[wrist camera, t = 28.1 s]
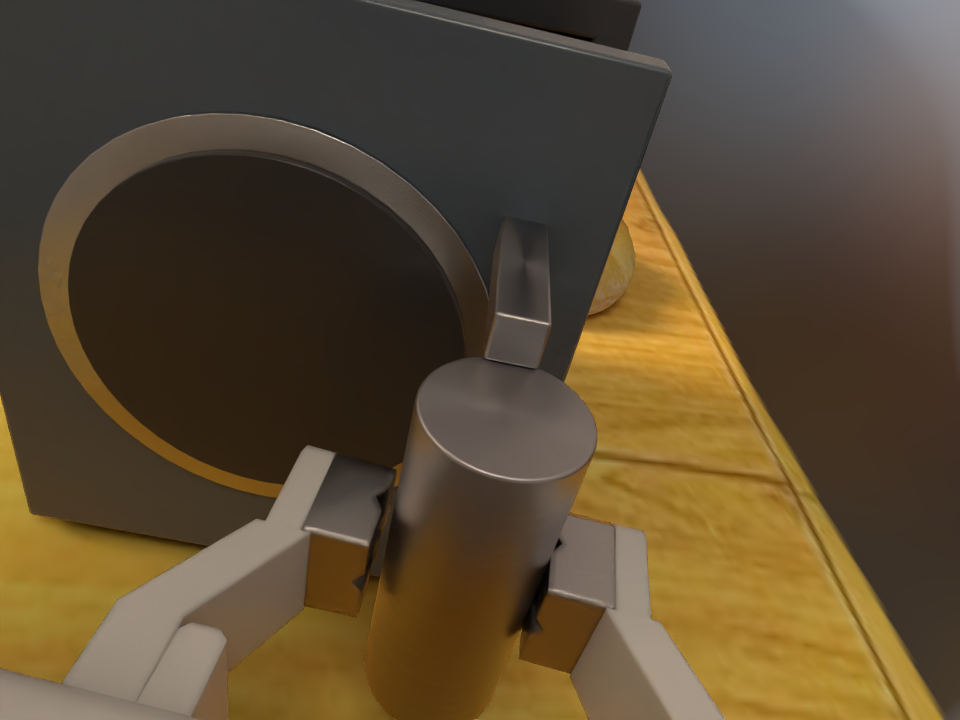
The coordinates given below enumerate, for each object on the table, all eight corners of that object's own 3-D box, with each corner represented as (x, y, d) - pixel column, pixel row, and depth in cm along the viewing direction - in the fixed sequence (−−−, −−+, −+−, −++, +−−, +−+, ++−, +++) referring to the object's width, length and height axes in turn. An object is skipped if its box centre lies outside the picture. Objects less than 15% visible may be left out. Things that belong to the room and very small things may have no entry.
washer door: (-143, 738, 13) (-686, -104, 5) (46, 491, 18) (-92, -123, 10) (475, 834, 14) (777, 225, 6) (490, 572, 19) (666, 59, 11)
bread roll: (416, 275, 31) (431, 191, 29) (504, 217, 38) (521, 145, 36) (584, 352, 29) (614, 268, 27) (645, 276, 36) (673, 204, 34)
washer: (44, 488, 18) (-105, -161, 10) (134, 302, 26) (88, -169, 17) (486, 508, 21) (644, 2, 13) (457, 335, 28) (548, -63, 20)
